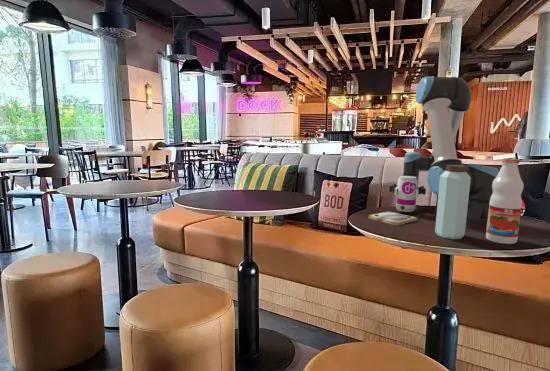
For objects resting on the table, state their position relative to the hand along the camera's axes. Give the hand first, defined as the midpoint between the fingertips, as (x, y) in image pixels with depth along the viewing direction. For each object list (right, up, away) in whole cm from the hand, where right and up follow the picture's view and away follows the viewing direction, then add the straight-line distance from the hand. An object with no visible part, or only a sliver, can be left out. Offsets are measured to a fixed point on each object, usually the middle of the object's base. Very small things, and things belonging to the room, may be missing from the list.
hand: (406, 192), depth 163 cm
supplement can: (+2, -8, +6) cm, 10 cm away
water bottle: (+6, -15, -28) cm, 33 cm away
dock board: (-8, -11, -6) cm, 15 cm away
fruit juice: (+21, -16, -33) cm, 42 cm away
